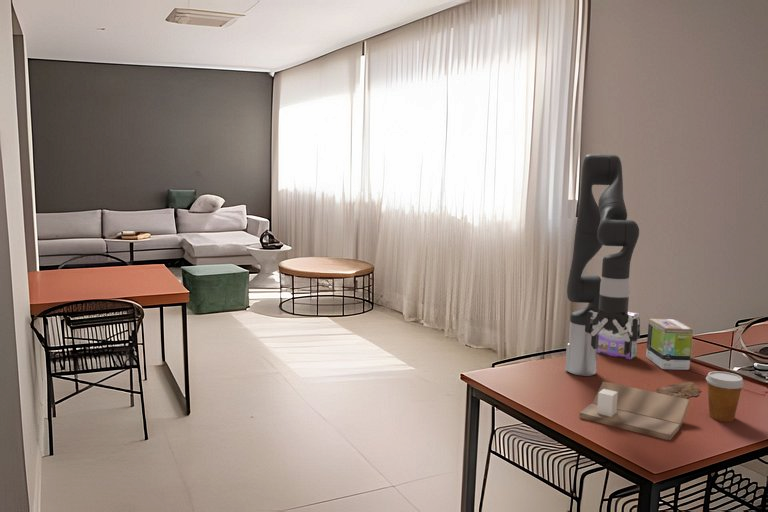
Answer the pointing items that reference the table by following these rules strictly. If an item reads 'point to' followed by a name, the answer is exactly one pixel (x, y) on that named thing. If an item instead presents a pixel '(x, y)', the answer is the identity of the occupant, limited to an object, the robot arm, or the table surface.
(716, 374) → the disposable coffee cup
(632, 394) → the board
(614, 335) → the candy box
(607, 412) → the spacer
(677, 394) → the flat brown piece
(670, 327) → the tea box
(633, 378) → the table surface
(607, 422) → the floor board
